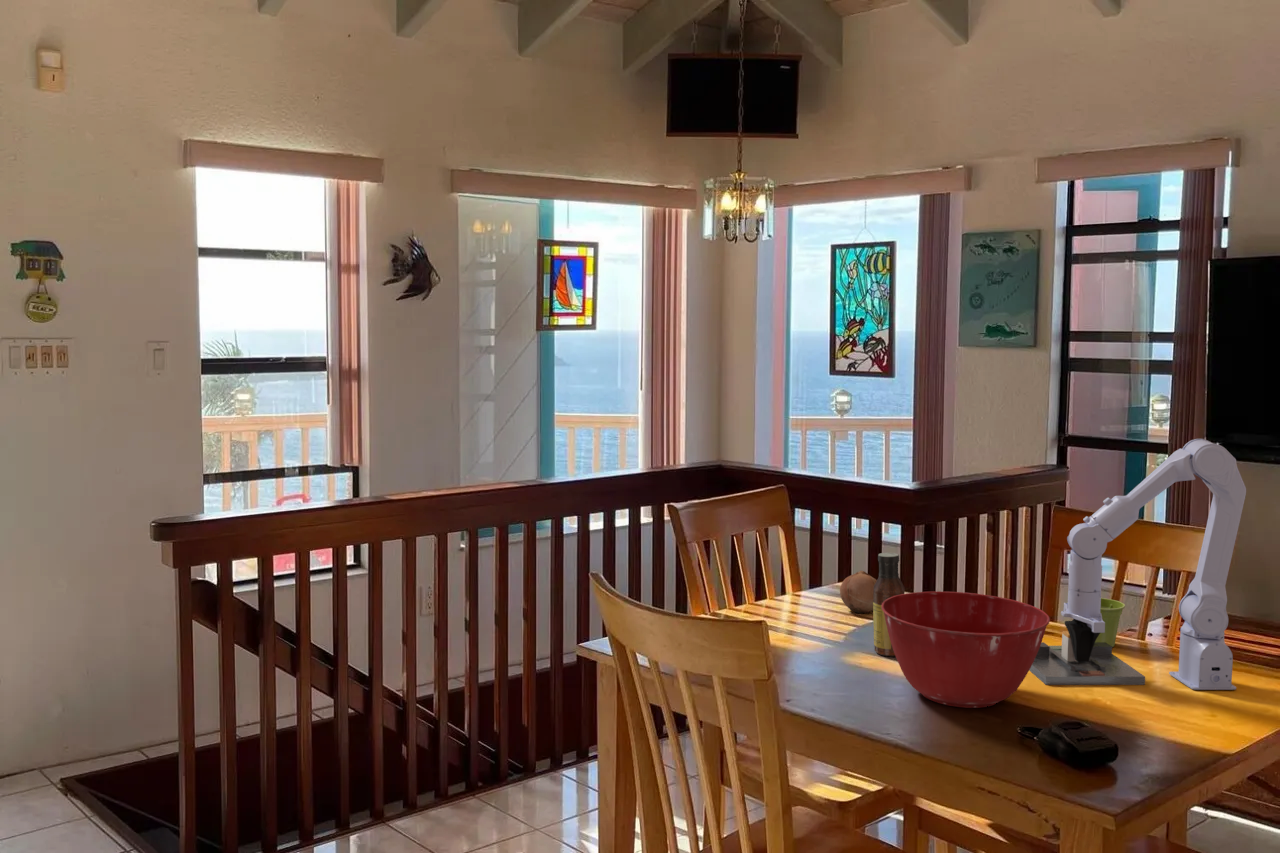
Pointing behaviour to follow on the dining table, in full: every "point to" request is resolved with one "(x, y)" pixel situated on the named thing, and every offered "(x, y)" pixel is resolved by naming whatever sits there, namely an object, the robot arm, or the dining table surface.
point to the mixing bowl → (963, 644)
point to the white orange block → (1067, 647)
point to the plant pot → (1110, 620)
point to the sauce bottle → (883, 590)
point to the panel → (1084, 668)
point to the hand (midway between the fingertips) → (1081, 660)
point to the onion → (858, 592)
